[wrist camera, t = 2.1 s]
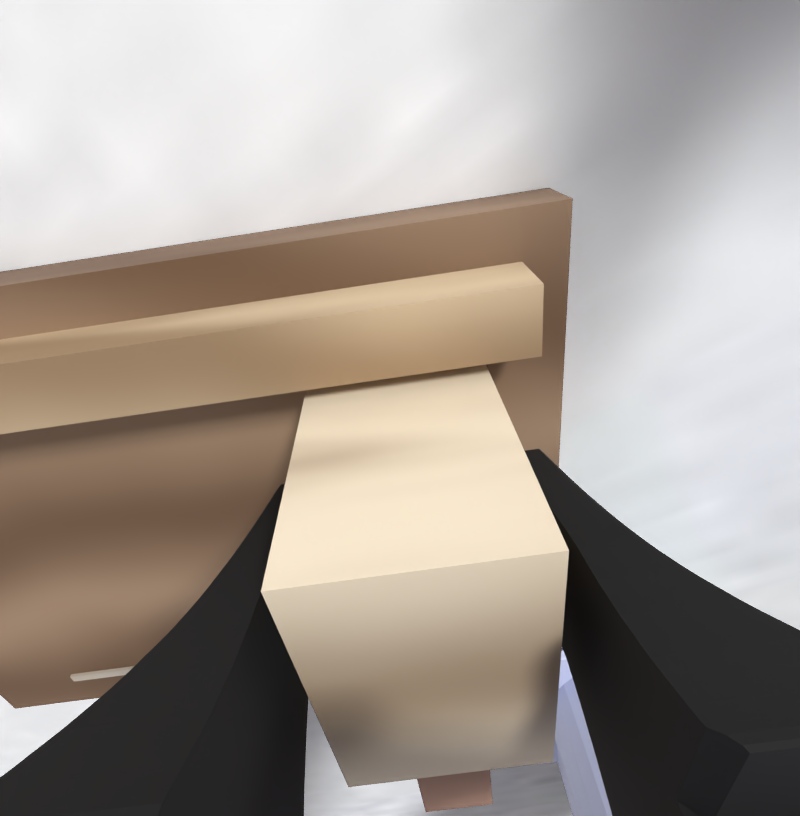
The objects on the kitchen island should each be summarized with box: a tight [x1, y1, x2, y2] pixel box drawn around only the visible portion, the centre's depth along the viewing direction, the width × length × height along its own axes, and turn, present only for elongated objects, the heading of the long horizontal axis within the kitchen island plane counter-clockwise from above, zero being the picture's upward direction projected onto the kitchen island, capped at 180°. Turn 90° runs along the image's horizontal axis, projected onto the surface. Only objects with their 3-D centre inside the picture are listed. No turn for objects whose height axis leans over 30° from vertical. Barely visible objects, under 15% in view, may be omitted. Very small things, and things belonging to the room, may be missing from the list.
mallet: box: [261, 365, 569, 812], centre depth 12 cm, size 11×4×6 cm, turn 8°
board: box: [0, 188, 572, 708], centre depth 14 cm, size 15×20×3 cm
